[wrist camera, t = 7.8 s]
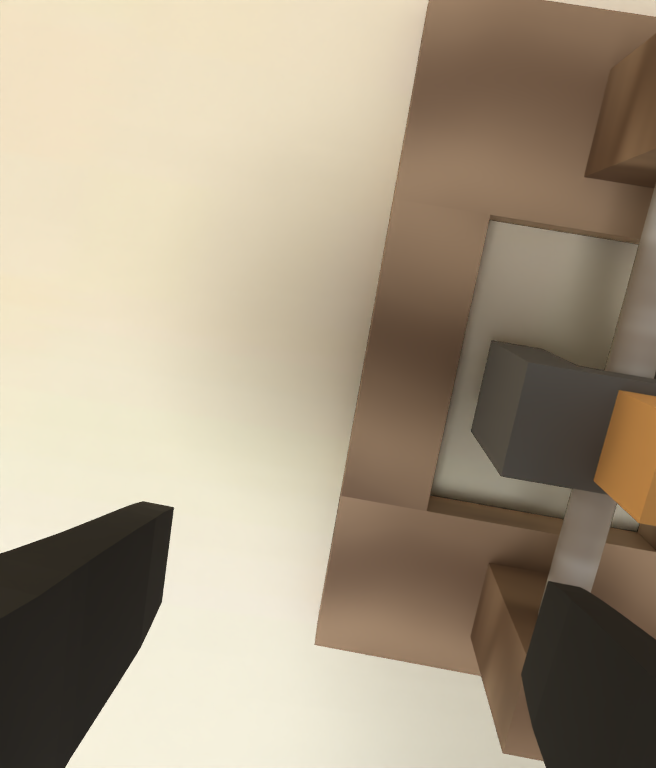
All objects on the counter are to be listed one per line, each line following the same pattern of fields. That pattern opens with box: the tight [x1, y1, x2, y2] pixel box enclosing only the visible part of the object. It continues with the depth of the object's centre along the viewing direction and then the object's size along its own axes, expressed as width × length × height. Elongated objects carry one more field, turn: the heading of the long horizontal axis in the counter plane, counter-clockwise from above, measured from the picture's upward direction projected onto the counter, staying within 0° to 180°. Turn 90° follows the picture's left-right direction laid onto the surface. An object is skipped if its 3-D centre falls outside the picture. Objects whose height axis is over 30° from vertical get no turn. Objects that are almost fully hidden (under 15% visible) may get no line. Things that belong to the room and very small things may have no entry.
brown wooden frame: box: [315, 0, 656, 761], centre depth 17 cm, size 22×14×6 cm, turn 171°
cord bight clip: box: [471, 341, 656, 526], centre depth 15 cm, size 3×6×6 cm, turn 81°
